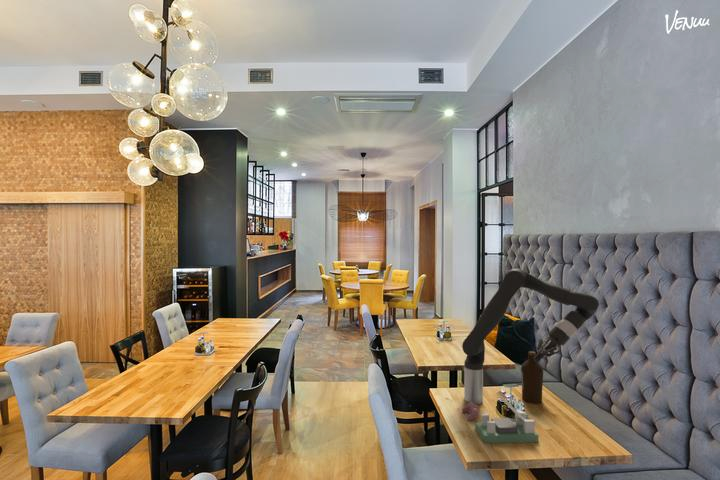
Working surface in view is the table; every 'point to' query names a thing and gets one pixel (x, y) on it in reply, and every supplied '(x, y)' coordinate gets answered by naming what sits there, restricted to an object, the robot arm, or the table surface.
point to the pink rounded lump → (471, 411)
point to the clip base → (505, 436)
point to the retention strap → (509, 405)
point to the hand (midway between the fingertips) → (535, 360)
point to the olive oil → (532, 380)
